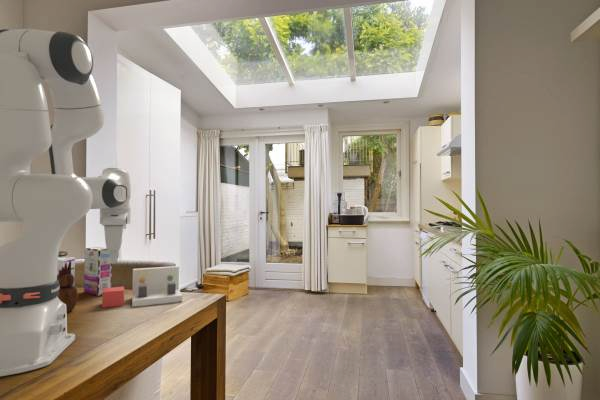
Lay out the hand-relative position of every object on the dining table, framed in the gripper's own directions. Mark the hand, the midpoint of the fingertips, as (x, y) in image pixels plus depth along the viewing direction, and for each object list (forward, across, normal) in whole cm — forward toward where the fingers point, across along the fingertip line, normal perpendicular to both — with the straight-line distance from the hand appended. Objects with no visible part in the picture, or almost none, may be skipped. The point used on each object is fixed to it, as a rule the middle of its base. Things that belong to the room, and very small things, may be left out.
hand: (114, 260), depth 111 cm
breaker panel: (+14, 0, +13) cm, 19 cm away
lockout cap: (+14, 0, 0) cm, 14 cm away
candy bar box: (+14, -19, -6) cm, 24 cm away
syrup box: (+14, -11, -16) cm, 24 cm away
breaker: (+14, +2, +8) cm, 16 cm away
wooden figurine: (+14, +3, -13) cm, 20 cm away
